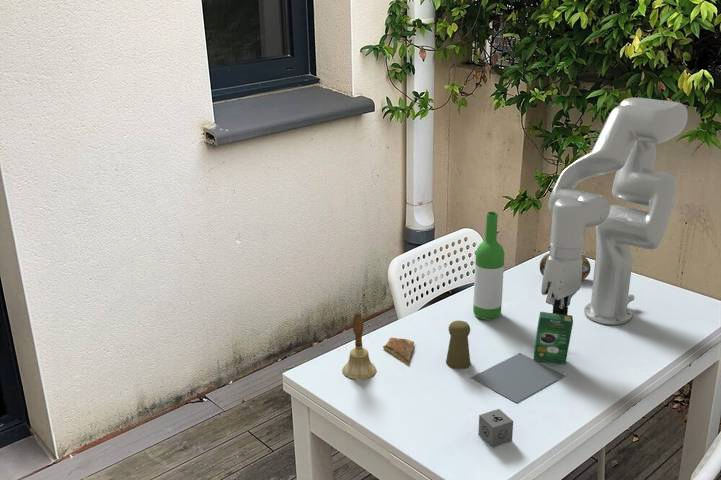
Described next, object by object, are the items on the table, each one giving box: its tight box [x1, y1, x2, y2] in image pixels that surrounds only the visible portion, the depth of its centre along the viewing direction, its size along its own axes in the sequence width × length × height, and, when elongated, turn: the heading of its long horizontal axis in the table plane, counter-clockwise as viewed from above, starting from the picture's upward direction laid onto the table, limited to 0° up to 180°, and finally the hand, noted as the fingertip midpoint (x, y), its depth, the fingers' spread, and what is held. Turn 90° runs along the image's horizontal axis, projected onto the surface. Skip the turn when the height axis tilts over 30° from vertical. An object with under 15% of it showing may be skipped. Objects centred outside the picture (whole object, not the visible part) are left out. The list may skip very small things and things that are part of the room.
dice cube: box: [477, 408, 514, 449], centre depth 159 cm, size 5×5×5 cm
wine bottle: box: [472, 211, 505, 320], centre depth 207 cm, size 8×8×30 cm
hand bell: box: [341, 311, 377, 380], centre depth 183 cm, size 8×8×16 cm
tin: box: [539, 253, 591, 281], centre depth 233 cm, size 15×3×8 cm, turn 80°
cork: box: [445, 320, 471, 370], centre depth 186 cm, size 6×6×11 cm
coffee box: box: [533, 311, 574, 364], centre depth 185 cm, size 8×3×13 cm, turn 78°
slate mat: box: [470, 352, 566, 404], centre depth 182 cm, size 18×14×1 cm
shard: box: [382, 337, 415, 365], centre depth 193 cm, size 11×8×2 cm
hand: (559, 320), depth 186 cm, fingers closed
